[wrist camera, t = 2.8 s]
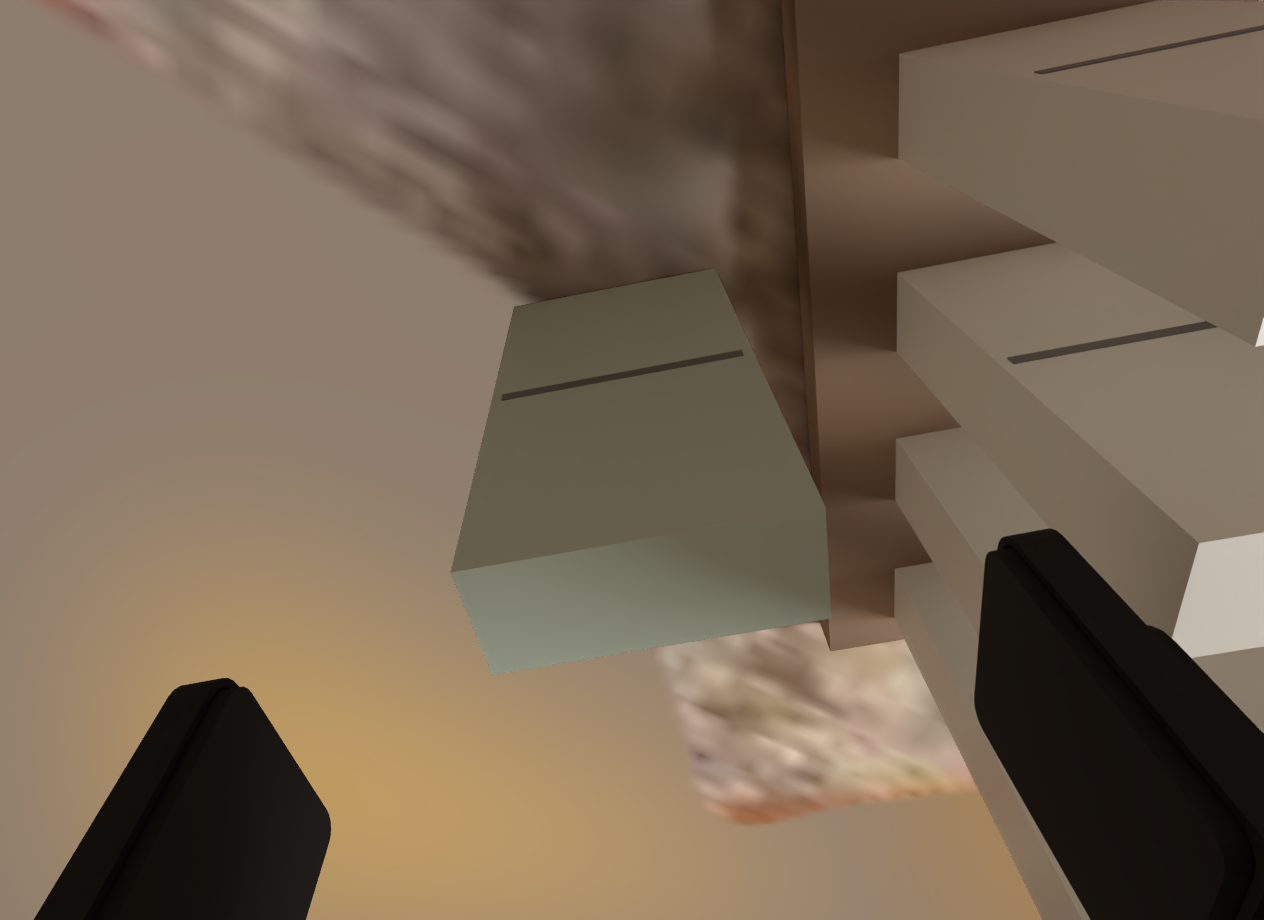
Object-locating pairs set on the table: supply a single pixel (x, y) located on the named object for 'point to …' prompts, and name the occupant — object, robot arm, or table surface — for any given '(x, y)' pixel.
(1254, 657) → the domino
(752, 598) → the pale green domino
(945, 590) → the domino
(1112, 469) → the domino
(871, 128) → the domino board
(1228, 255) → the domino
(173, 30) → the table surface
